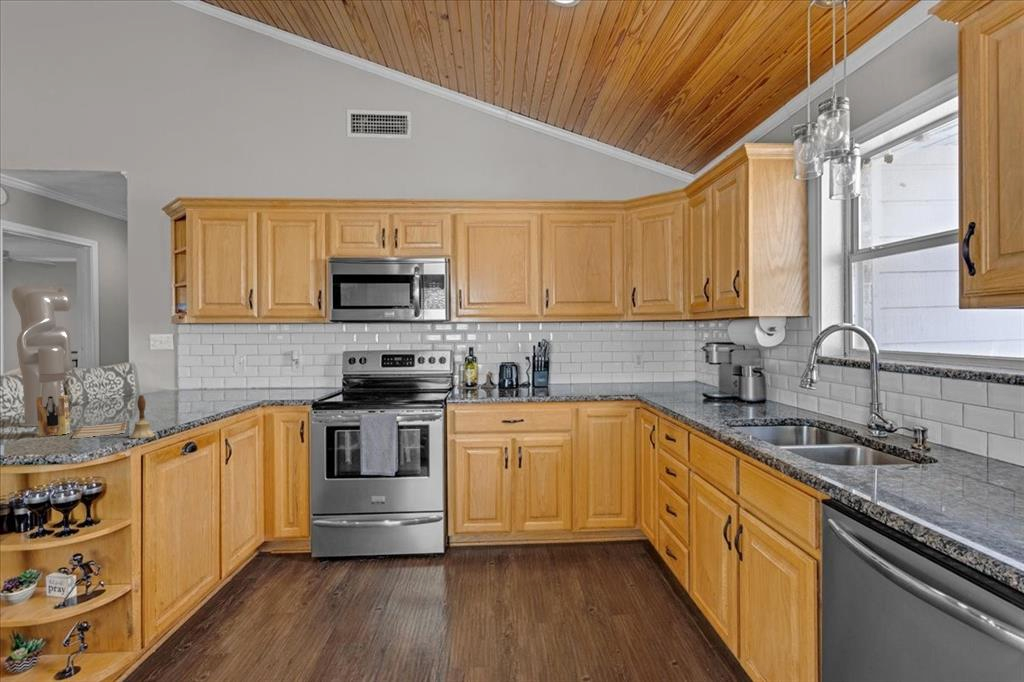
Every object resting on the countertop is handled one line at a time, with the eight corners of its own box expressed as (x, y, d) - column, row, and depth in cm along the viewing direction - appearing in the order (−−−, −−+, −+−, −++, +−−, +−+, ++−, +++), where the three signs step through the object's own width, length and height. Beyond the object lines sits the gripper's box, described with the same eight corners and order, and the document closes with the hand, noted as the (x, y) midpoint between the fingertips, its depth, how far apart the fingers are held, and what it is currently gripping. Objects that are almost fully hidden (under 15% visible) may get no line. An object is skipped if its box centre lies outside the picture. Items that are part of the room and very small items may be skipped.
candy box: (70, 433, 217) (68, 394, 216) (65, 435, 213) (64, 396, 212) (43, 435, 213) (41, 396, 213) (37, 437, 210) (36, 397, 209)
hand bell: (160, 434, 213) (158, 393, 212) (146, 438, 205) (144, 396, 204) (138, 434, 213) (137, 393, 212) (124, 439, 205) (122, 397, 204)
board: (79, 429, 224) (79, 426, 223) (127, 425, 232) (126, 421, 232) (72, 439, 205) (72, 435, 205) (124, 433, 214) (124, 430, 214)
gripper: (42, 377, 217) (45, 422, 218) (35, 380, 203) (37, 429, 204) (67, 375, 221) (69, 420, 222) (60, 379, 207) (63, 426, 208)
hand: (53, 424), depth 213 cm, fingers closed on candy box, 5 cm apart
